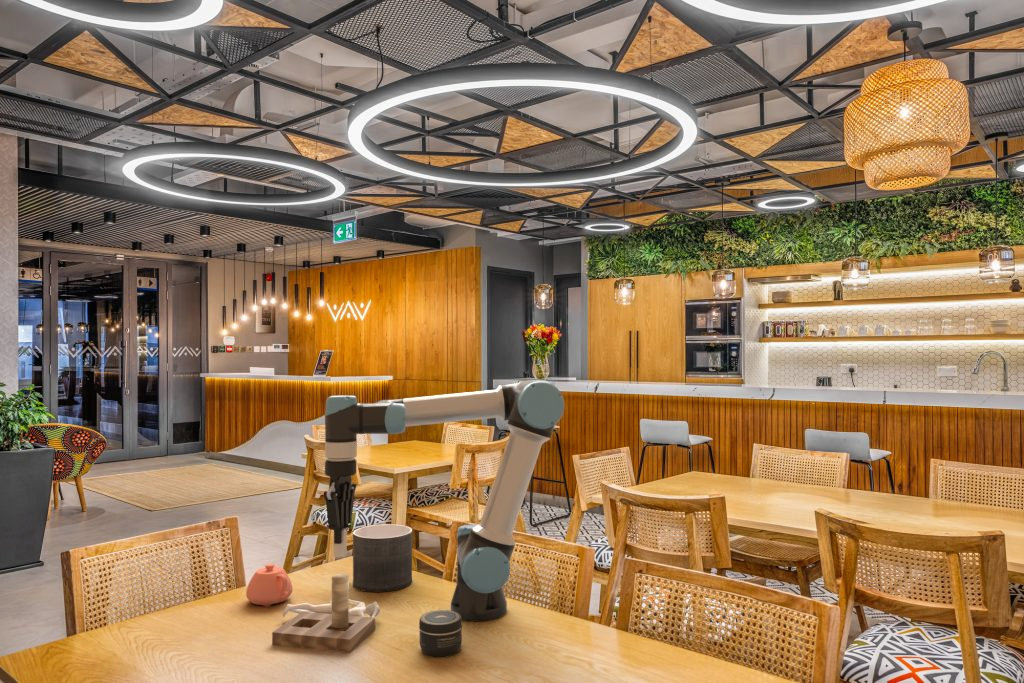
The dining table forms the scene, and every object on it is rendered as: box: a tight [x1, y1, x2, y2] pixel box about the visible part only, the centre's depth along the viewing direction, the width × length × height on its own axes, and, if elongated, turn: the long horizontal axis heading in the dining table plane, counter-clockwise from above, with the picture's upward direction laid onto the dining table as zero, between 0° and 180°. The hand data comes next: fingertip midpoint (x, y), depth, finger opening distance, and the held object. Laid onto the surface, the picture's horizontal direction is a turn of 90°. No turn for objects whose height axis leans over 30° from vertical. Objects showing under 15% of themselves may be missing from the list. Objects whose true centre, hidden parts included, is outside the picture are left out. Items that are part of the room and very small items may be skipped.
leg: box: [331, 573, 350, 631], centre depth 169 cm, size 4×4×15 cm
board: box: [271, 612, 376, 653], centre depth 169 cm, size 20×14×3 cm
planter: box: [352, 523, 413, 593], centre depth 211 cm, size 18×18×16 cm
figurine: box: [282, 598, 381, 619], centre depth 180 cm, size 8×6×25 cm
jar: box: [418, 609, 463, 659], centre depth 162 cm, size 10×10×8 cm
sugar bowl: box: [245, 563, 293, 607], centre depth 195 cm, size 12×14×10 cm
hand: (340, 555), depth 169 cm, fingers closed
